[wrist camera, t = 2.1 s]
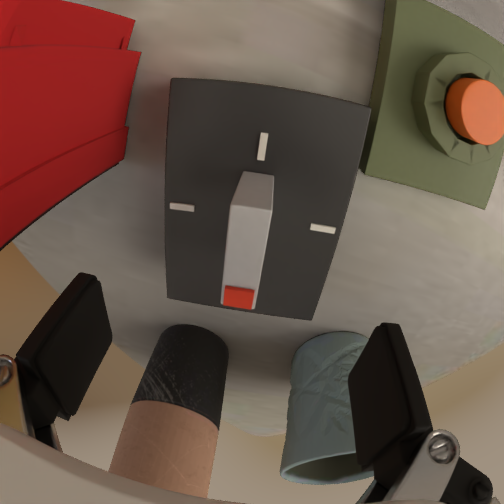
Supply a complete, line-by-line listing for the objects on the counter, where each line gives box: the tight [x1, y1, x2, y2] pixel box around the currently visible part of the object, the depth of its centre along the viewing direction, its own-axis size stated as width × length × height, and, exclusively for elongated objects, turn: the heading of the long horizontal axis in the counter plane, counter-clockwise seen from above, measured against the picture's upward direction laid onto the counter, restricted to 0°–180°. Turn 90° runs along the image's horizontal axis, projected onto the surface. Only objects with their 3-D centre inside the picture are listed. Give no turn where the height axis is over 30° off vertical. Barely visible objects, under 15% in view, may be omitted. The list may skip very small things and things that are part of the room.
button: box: [445, 78, 504, 145], centre depth 11 cm, size 4×4×2 cm
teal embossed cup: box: [280, 332, 374, 485], centre depth 23 cm, size 10×10×12 cm
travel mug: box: [108, 325, 228, 498], centre depth 20 cm, size 8×8×20 cm
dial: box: [221, 171, 274, 310], centre depth 14 cm, size 5×2×5 cm, turn 173°
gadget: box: [165, 78, 371, 321], centre depth 18 cm, size 14×10×4 cm
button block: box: [358, 0, 504, 210], centre depth 13 cm, size 12×10×4 cm
